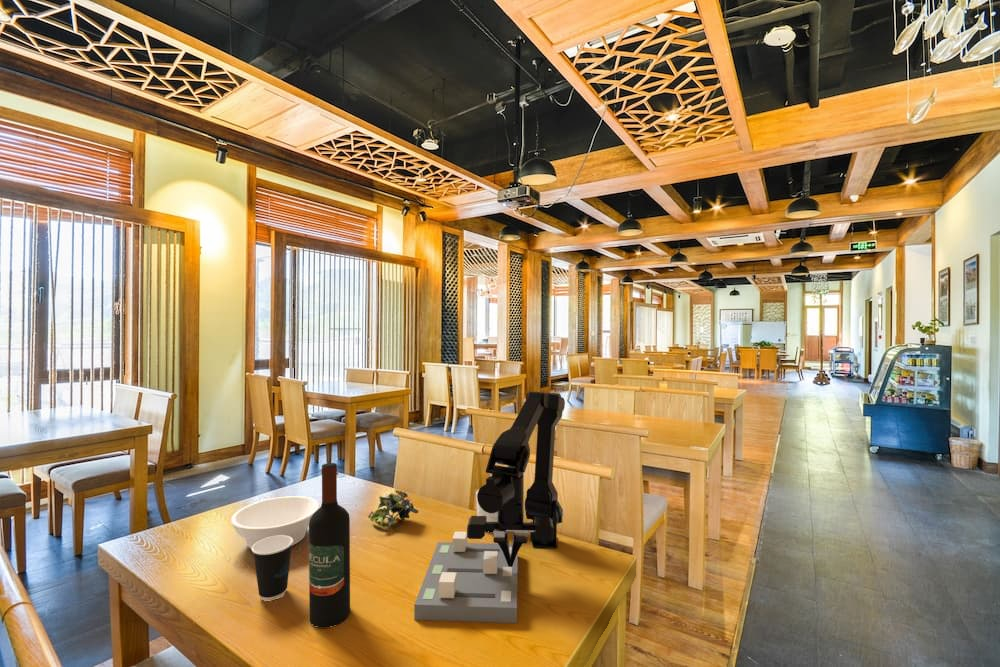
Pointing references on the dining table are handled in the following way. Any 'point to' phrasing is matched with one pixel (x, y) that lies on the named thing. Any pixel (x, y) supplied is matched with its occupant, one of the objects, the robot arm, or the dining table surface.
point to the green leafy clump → (393, 508)
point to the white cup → (486, 513)
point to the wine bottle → (329, 556)
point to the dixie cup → (272, 565)
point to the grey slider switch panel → (469, 587)
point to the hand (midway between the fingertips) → (510, 565)
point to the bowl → (275, 518)
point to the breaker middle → (490, 562)
